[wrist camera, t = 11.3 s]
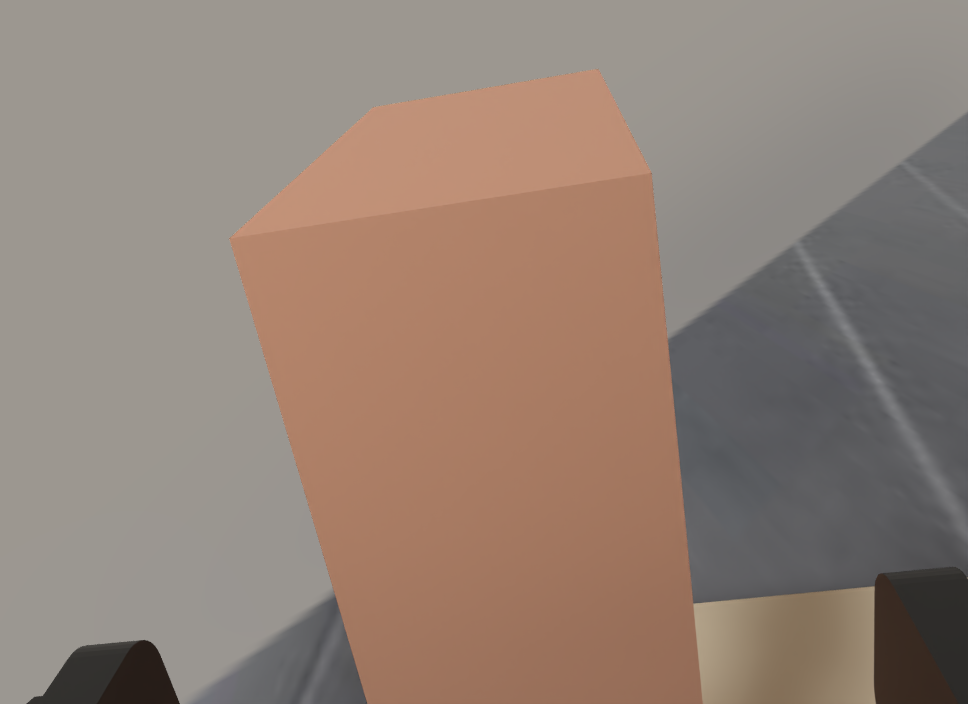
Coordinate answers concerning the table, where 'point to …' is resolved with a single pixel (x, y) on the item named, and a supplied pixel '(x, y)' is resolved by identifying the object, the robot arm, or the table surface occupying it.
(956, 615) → the robot arm
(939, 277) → the table surface
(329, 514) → the salmon orange block
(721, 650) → the wooden base board
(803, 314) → the table surface
